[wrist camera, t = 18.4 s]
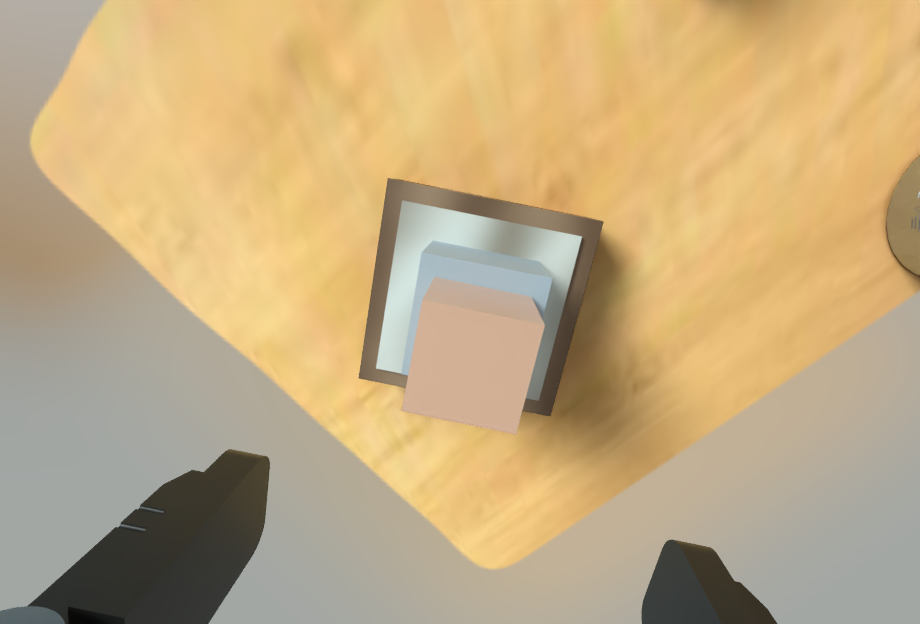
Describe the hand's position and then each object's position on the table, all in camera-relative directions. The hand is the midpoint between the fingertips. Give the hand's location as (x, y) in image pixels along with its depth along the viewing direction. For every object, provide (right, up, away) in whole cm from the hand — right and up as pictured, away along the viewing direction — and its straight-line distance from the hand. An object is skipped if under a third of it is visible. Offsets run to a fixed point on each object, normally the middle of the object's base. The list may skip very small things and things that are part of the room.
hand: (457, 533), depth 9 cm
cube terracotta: (+1, +3, +12) cm, 13 cm away
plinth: (+1, +6, +21) cm, 22 cm away
